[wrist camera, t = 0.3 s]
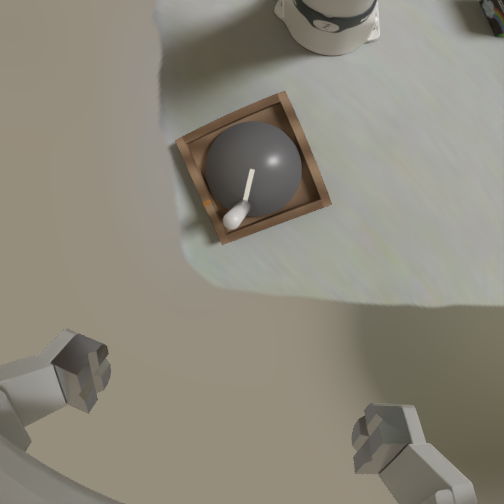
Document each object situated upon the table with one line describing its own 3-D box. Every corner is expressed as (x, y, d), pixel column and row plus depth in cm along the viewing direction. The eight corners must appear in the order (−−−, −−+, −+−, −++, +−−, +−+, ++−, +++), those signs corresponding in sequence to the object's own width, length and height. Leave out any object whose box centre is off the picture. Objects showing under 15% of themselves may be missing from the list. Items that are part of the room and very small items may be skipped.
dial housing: (182, 140, 52) (174, 140, 49) (285, 94, 47) (284, 90, 44) (226, 239, 57) (221, 245, 54) (329, 200, 52) (332, 204, 49)
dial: (218, 113, 48) (197, 106, 38) (312, 134, 47) (316, 132, 37) (199, 202, 54) (176, 217, 43) (287, 225, 53) (285, 246, 43)
